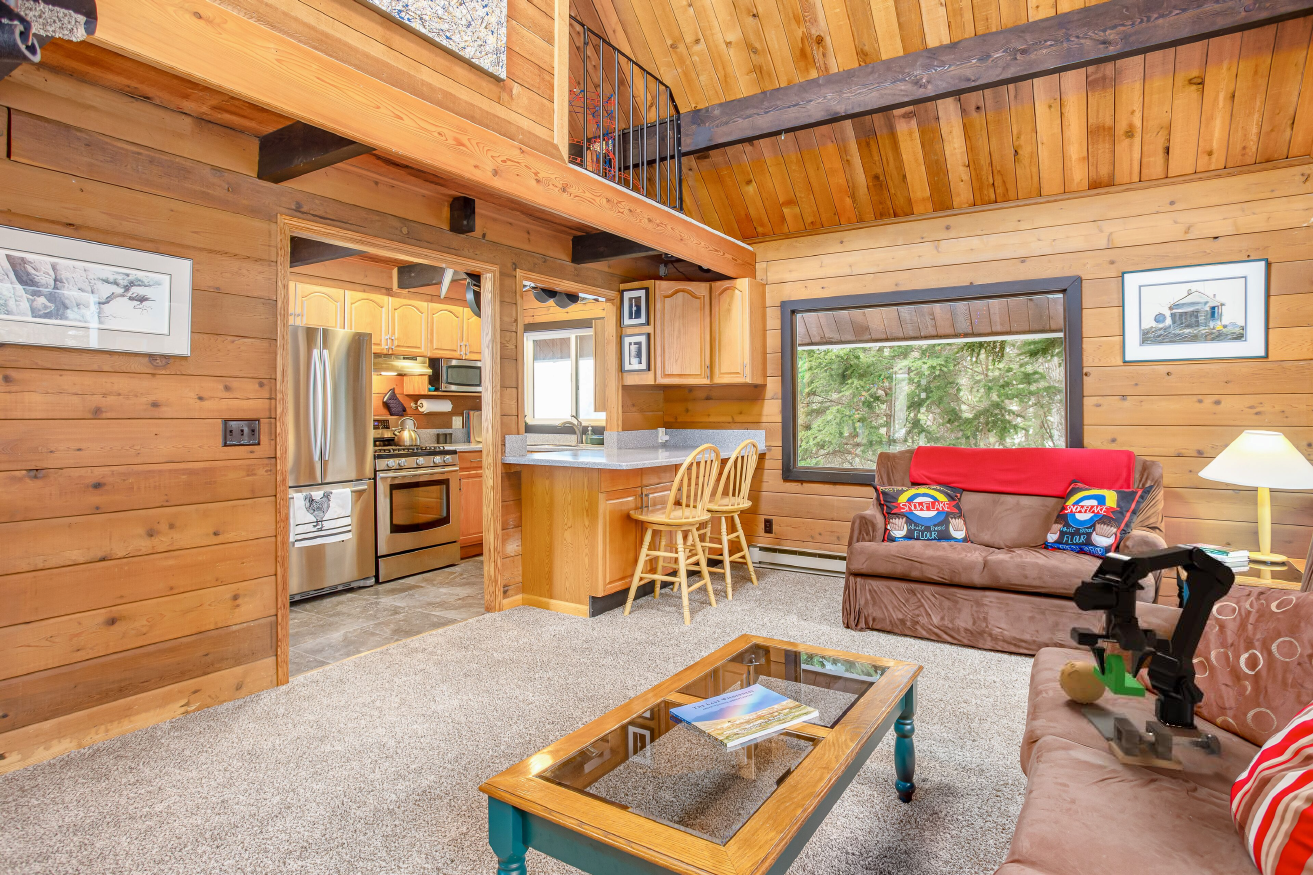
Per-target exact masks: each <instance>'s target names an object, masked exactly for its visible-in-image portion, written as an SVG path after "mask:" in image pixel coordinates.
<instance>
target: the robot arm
mask: <svg viewBox="0 0 1313 875" xmlns="http://www.w3.org/2000/svg"><path fill="white" fill-rule="evenodd" d="M1177 567H1180V569H1182V570H1183V571H1184V572H1185V573H1186V576H1185V583H1186V587H1187V591H1188V595H1187V597H1186V600H1185V603H1184V605H1183V608H1182V610H1181V612H1180V614H1179V617H1178V620H1177V623H1176V625H1175V628H1174V630H1173V633H1172V635H1171V637H1170V639H1169V638H1167V637H1166V636H1164V635H1163V634H1161V633H1159V632H1158V633H1157V632H1156V630H1155V629H1154V628H1141V627H1140V625H1139V618H1138V616H1136V614H1137V613H1136V612H1137V593H1138V591H1145V589H1146V587H1145V586H1143V585H1142V584H1141V583H1140V582H1139V581H1142V580H1144V579H1146V578H1147V577H1148V576H1149V575H1150V574H1152V573H1153V572H1157V571H1162V570H1168V569H1172V568H1177ZM1235 581H1236V575H1235V573H1234V571H1233V569H1232V568H1231V567H1230V566H1229V565H1226V564H1225V563H1224V562H1222V561H1220V560H1219V559H1217V558H1215V557H1213V556H1212V555H1209V553H1207V552H1206V551H1205V550H1204V549H1202V548H1201V547H1199V546H1195V545H1190V544H1184V543H1179V544H1176V545H1174V546H1170V547H1165V548H1160V549H1155V550H1148V551H1143V552H1140V553H1139V552H1137V553H1135V552H1122V551H1121V552H1119V551H1118V552H1117V551H1112V552H1108V553H1106V554H1105V555H1104V558H1103V559H1102V560H1101V562H1100V564H1099V565H1098V566H1097V568H1096V570H1095V571H1094V573H1093V574H1092V576H1091V577H1090V580H1088V579H1082V580H1081V582H1080V583H1081V584H1080V585H1078V586H1077V587H1076V588H1075V589H1074V592H1073V594H1072V596H1073V597H1072V598H1073V602H1074V604H1075V606H1076V607H1077V608H1078V609H1079V610H1080V611H1083V612H1100V611H1101V612H1102V611H1103V615H1104V616H1105V620H1104V621H1105V622H1104V625H1105V626H1102V631H1103V632H1101V633H1100V632H1095V631H1094V630H1093V629H1091V628H1090V627H1084V626H1083V627H1082V626H1081V627H1078V626H1073V627H1072V628H1071V629H1070V632H1069V638H1070V639H1071V640H1073V641H1074V642H1075V643H1076V645H1079V646H1083V647H1088V648H1089V649H1090V651H1091V653H1092V655H1093V657H1094V660H1095V662H1096V664H1097V665H1096V666H1098V668H1099V671H1100V673H1101V675H1104V674H1105V660H1106V657H1105V654H1106V651H1107V649H1106V648H1105V647H1104V645H1103V644H1104V643H1111V644H1112V643H1113V644H1118V646H1119V649H1121V651H1125V652H1130V651H1131V663H1130V664H1131V666H1130V667H1131V668H1130V670H1131V671H1130V672H1131V676H1132V677H1133V678H1134V679H1137V677H1138V675H1139V673H1140V671H1141V669H1142V667H1143V666H1144V663H1145V662H1146V661H1147V659H1148V658H1151V659H1150V660H1149V663H1148V665H1147V666H1146V668H1147V675H1146V676H1147V677H1148V680H1149V683H1150V687H1151V690H1153V691H1156V692H1157V697H1156V698H1155V700H1154V701H1155V702H1154V712H1155V715H1156V716H1157V717H1158V718H1159V719H1160V720H1162V721H1163V722H1164V723H1165V724H1167V723H1168V724H1169V725H1175V726H1181V727H1180V728H1185V727H1186V728H1187V729H1195V730H1196V729H1197V730H1198V727H1199V726H1198V725H1196V724H1195V706H1196V705H1198V704H1200V703H1202V702H1203V698H1204V696H1205V693H1204V692H1203V690H1201V688H1200V687H1199V686H1198V685H1197V684H1196V683H1195V679H1196V676H1197V673H1196V672H1197V671H1196V670H1195V669H1196V668H1195V665H1194V662H1193V659H1194V657H1195V653H1196V651H1197V648H1198V645H1199V643H1200V641H1201V639H1202V636H1203V633H1204V631H1205V628H1206V626H1207V623H1208V620H1209V618H1210V616H1211V613H1212V610H1213V608H1214V606H1215V604H1216V602H1218V601H1220V600H1221V599H1222V598H1224V597H1226V596H1228V594H1229V592H1230V591H1231V589H1232V587H1233V585H1234V583H1235ZM1155 715H1154V716H1155ZM1156 716H1155V717H1156ZM1157 717H1156V718H1157ZM1158 718H1157V719H1158ZM1159 719H1158V720H1159ZM1160 720H1159V721H1160ZM1162 721H1161V722H1162ZM1163 722H1162V723H1163ZM1164 723H1163V724H1164ZM1165 724H1164V725H1165ZM1175 726H1174V727H1175Z"/></svg>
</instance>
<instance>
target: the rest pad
mask: <svg viewBox="0 0 1313 875" xmlns="http://www.w3.org/2000/svg"><path fill="white" fill-rule="evenodd" d="M1081 712H1082V714H1083V715H1084V716H1085V717H1086V718H1087V719H1088V721H1089V722H1090V723H1091V724H1092V725H1093V727H1094V728H1095V729H1096V730H1097V731H1098V732H1099V734H1100V735H1101V736H1102V737H1103V738H1104V739H1105V741H1106V740H1107V741H1113V732H1114V717H1119V718H1127V719H1128V720H1129V721H1130V722H1131V723H1132V724H1133V725H1134V726H1135V727H1136V728H1137V729H1138V730H1139V732H1143V731H1142V730H1141V729H1140V728H1139V727H1138V726H1137V725H1136V724H1135V723H1134V722H1133V720H1131V719H1130V717H1128V716H1127V715H1126V714H1125V713H1124V712H1115V711H1108V710H1107V711H1105V710H1097V709H1087V708H1081ZM1142 744H1143V745H1145V743H1143V742H1139V745H1142Z"/></svg>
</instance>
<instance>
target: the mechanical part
mask: <svg viewBox="0 0 1313 875" xmlns="http://www.w3.org/2000/svg"><path fill="white" fill-rule="evenodd" d="M1093 666H1094V670H1093V674H1094V675H1095V676H1096V677H1097V678H1098V679H1099V680H1100V681H1101V682H1102V683H1103V684H1104V685H1105V686H1106V688H1107V689H1108V690H1109V691H1110V692H1111V693H1112V694H1113V695H1118V696H1119V695H1120V696H1127V697H1128V696H1129V697H1137V698H1139V697H1140V698H1146V687H1144V686H1143V685H1142V683H1141V682H1139V681H1137V680H1136V678H1133V677H1132V674H1130V673H1129V672H1127V671H1126V664H1125V660H1124V658H1123V656H1122V655H1121V654H1115V653H1108V654H1106V657H1105V674H1104V675H1101V673H1100V671H1099V668H1098V665H1093Z"/></svg>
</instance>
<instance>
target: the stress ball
mask: <svg viewBox="0 0 1313 875" xmlns="http://www.w3.org/2000/svg"><path fill="white" fill-rule="evenodd" d="M1094 666H1095V665H1093V664H1091V663H1089V662H1085V661H1070V662H1068V663H1066V664H1064V667H1063V668H1062V669H1061V671H1060V674H1059V680H1058V683H1059V685H1060V688H1061V690H1063V692H1064V693H1065V694H1066V696H1068V697H1069V698H1070V699H1072V700H1074V701H1075V702H1076V703H1078V704H1081V703H1083V704H1082V705H1087V704H1086V703H1088V704H1090V703H1091V704H1092V703H1094V702H1097V701H1099V700H1100V699H1101V698H1103V696H1104V695H1105V692H1106V688H1107V687H1106V686H1105V685H1104V684H1103V683H1102V682H1101V681H1100V680H1099V679H1098V678H1097V677H1096V676H1095V675H1094V674H1093V670H1094Z"/></svg>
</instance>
